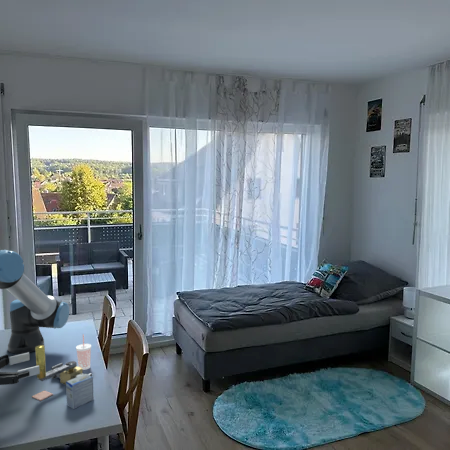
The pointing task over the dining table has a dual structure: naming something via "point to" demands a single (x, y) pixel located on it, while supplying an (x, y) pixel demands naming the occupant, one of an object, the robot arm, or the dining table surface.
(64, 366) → the lever
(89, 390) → the medicine box
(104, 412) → the dining table surface
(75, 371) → the valve
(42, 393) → the closed pad
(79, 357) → the beverage cup
